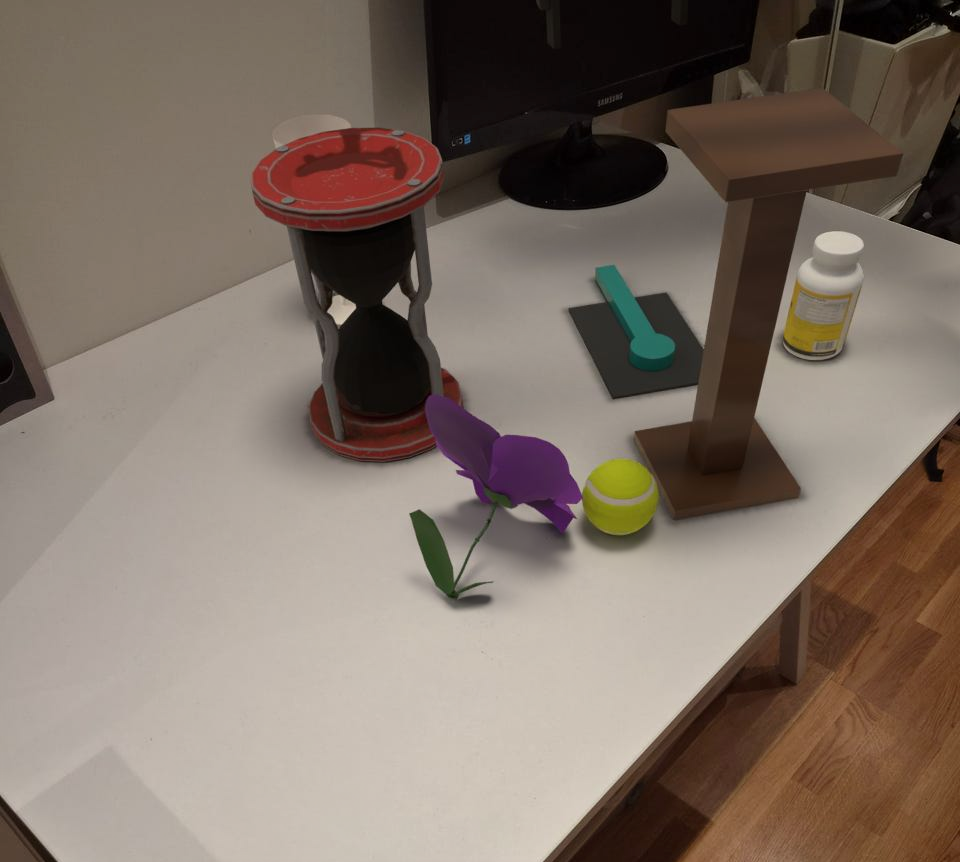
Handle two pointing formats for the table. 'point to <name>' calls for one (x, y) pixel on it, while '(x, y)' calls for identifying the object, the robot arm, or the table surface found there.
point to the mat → (614, 345)
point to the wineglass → (301, 129)
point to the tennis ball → (620, 496)
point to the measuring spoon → (635, 323)
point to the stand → (751, 282)
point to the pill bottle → (825, 297)
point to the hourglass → (363, 280)
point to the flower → (492, 479)
